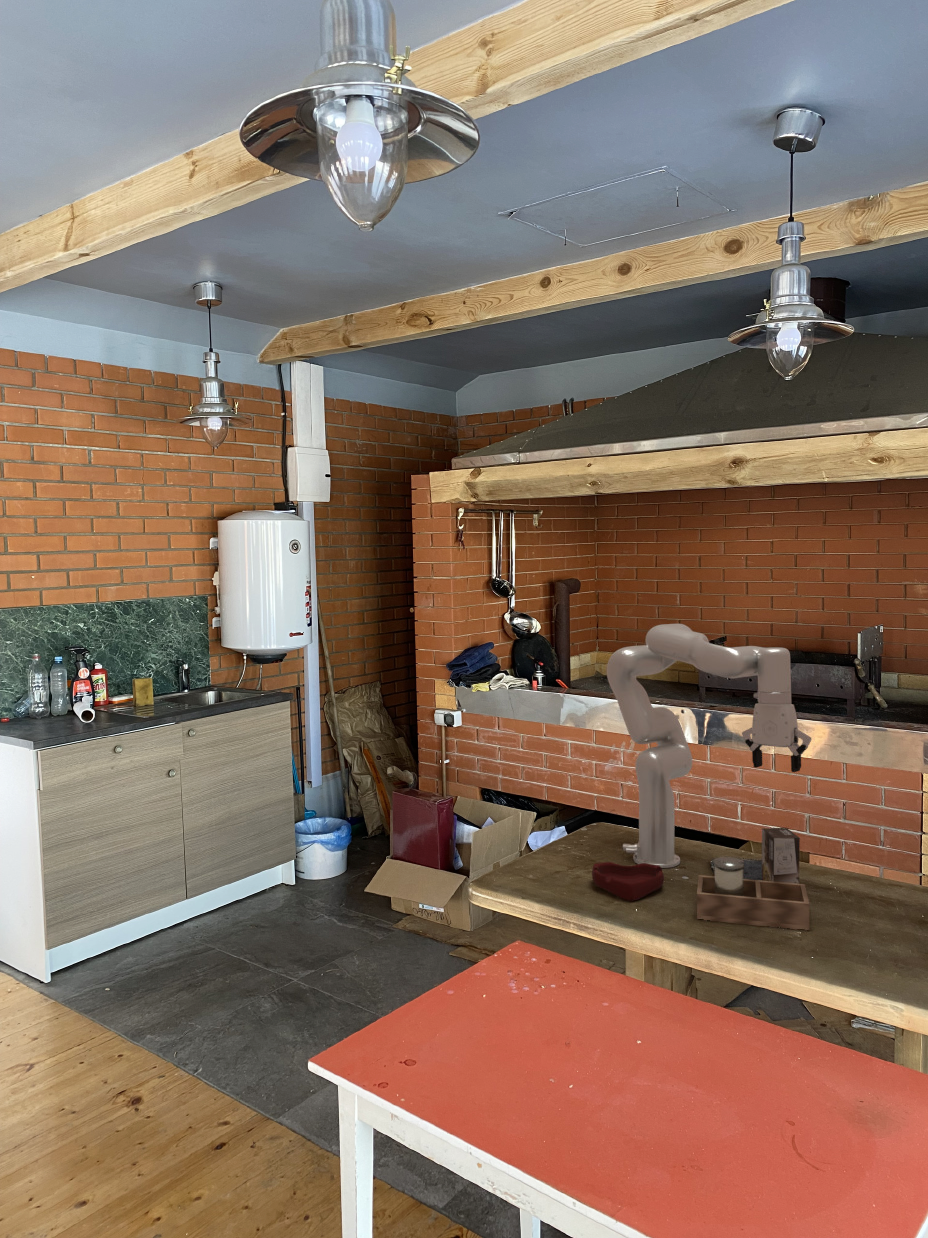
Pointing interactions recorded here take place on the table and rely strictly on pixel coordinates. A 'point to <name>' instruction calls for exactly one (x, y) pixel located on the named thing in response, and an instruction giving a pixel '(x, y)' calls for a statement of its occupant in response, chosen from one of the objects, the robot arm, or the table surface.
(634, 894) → the ashtray
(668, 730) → the robot arm
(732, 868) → the tea tin
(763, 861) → the coffee box
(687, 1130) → the table surface
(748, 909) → the caddy
